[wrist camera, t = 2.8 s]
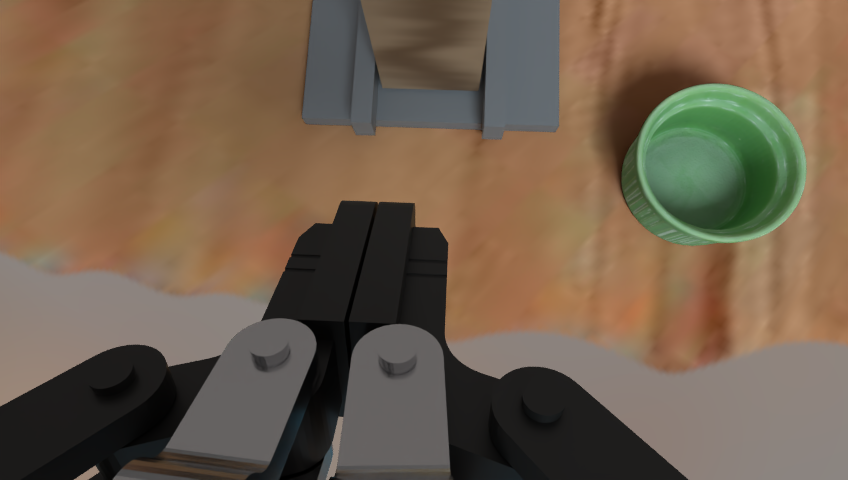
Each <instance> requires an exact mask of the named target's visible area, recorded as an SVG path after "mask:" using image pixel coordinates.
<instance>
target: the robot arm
mask: <svg viewBox="0 0 848 480" xmlns="http://www.w3.org/2000/svg"><path fill="white" fill-rule="evenodd" d="M447 260H448V242H447V241H446V239H445V238H444V236H443V234H442V233H441V231H440V230H439V228H424V227H415V203H396V202H379V204H378V203H377V202H366V201H341V203H340V205H339V208H338V210H337V213H336V216H335V219H334V221H333V224H320V223H315V224H314V225H313V226H312V227H311V228H309V229H308V230H307V231H306V232H305V233H303V234H302V235H301V236H300V237H299V238H298V241H297V243H296V245H295V247H294V249H293V252H292V254H291V257H290V258H289V260H288V263H287V265H286V267H285V272H283V274H282V276H281V278H280V280H279V283H278V285H277V287H276V289H275V292H274V294H273V296H272V298H271V300H270V303H269V305H268V307H267V309H266V312H265V314H264V316H263V318H262V320H261V321H260V322H257V323H255V324H252V325H250V326H248V327H246V328H245V329H243V330H242V331H240V332H239V333H238V334H236V335H235V336H234V337H233V338H232V339H231V341H230V342H229V343H228V345H227V346H226V348H225V350H224V351H223V353H222V355H219V356H217V357H213V358H209V359H204V360H200V361H195V362H190V363H185V364H180V365H175V366H170V367H168V365H167V362H166V360H165V358H164V356H163V355H162V354H161V353H160V352H159V351H158V350H157V349H154V348H152V347H149V346H145V345H126V346H120V347H116V348H113V349H110V350H107V351H104V352H102V353H100V354H98V355H96V356H94V357H92V358H90V359H88V360H86V361H84V362H82V363H81V364H79V365H77V366H75V367H73V368H71V369H69V370H68V371H66V372H64V373H62V374H60V375H58V376H57V377H54V378H53V379H51V380H49V381H47V382H45V383H43V384H42V385H40V386H38V387H36V388H34V389H32V390H30V391H28V392H27V393H25V394H23V395H21V396H19V397H17V398H15V399H13V400H12V401H10V402H8V403H6V404H4V405H2V406H0V480H74V479H75V478H77V477H78V476H80V475H81V474H83V473H84V472H86V471H87V470H89V469H90V468H92V467H93V466H95V465H96V467H97V469H98V470H99V473H98V474H96V475H95V476H93V477H92V478H90V479H89V480H326V477H327V474H328V471H329V468H330V464H331V461H332V456H333V445H332V441H333V438H334V433H335V429H336V425H337V420H338V416H340V417H344V418H343V425H342V433H341V441H340V448H339V456H338V464H337V469H336V473H335V476H334V477H330V479H329V480H688V479H687V478H686V477H685V476H684V475H682V474H681V473H680V472H679V471H678V470H677V469H675V468H674V467H673V466H672V465H671V464H669V463H668V462H667V461H666V460H665V459H664V458H663V457H662V456H660V455H659V454H658V453H657V452H656V451H655V450H654V449H652V448H651V447H650V446H649V445H648V444H647V443H645V442H644V441H643V440H642V439H641V438H640V437H639V436H637V435H636V434H635V433H634V432H633V431H632V430H630V429H629V428H628V427H627V426H626V425H625V424H624V423H622V422H621V421H620V420H619V419H618V418H617V417H615V416H614V415H613V414H612V413H611V412H610V411H609V410H607V409H606V408H605V407H604V406H603V405H601V404H600V403H599V402H598V401H597V400H596V399H595V398H593V397H592V396H591V395H590V394H589V393H588V392H586V391H585V390H584V389H583V388H582V387H581V386H580V385H578V384H577V383H576V382H575V381H573V380H572V379H571V378H569V377H567V376H566V375H564V374H562V373H560V372H557V371H555V370H552V369H548V368H543V367H524V368H520V369H516V370H513V371H511V372H509V373H508V374H506V375H504V376H503V377H502V378H501V379H497V378H494V377H491V376H488V375H485V374H482V373H479V372H477V371H474V370H472V369H470V368H469V367H467V366H465V365H464V364H462V363H461V362H460V361H458V360H457V359H456V358H455V357H454V356H453V354H452V353H451V351H450V350H449V348H448V346H447V344H446V340H445V310H446V285H447Z"/></svg>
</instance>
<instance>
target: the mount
mask: <svg viewBox="0 0 848 480" xmlns="http://www.w3.org/2000/svg"><path fill="white" fill-rule="evenodd" d="M302 119H303V120H304V122H305V123H306V124H320V125H352V127H353V129H354V131H355V133H356V135H375V132H376V126H383V127H414V128H445V129H476V130H482V139H500V140H501V139H502V136H503V132H504V130H507V131H539V132H556V130H557V128H558V127H559V0H492V5H491V11H490V18H489V25H488V32H487V38H486V45H485V52H484V59H483V65H482V72H481V79H480V86H479V91H462V90H427V89H393V88H382V84H381V80H380V76H379V72H378V68H377V64H376V60H375V56H374V52H373V48H372V44H371V40H370V36H369V32H368V28H367V24H366V20H365V16H364V12H363V8H362V4H361V0H313V5H312V15H311V26H310V37H309V48H308V59H307V69H306V80H305V91H304V102H303V112H302Z"/></svg>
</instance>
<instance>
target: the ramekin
mask: <svg viewBox="0 0 848 480" xmlns="http://www.w3.org/2000/svg"><path fill="white" fill-rule="evenodd" d="M805 181H806V158H805V152H804V149H803V146H802V143H801V140H800V138H799V136H798V133H797V131H796V130H795V128H794V126H793V125H792V124H791V123H790V121H789V119H788V118H787V117H786V116H785V115H784V113H782V112H781V111H780V110H779V109H778V108H777V107H776V106H775V105H774V104H773V103H771V102H770V101H768V100H767V99H765V98H764V97H762V96H760V95H758V94H756V93H755V92H752V91H750V90H747V89H744V88H741V87H738V86H734V85H728V84H717V83H713V84H701V85H696V86H692V87H688V88H685V89H683V90H680V91H678V92H676V93H674V94H672V95H671V96H669V97H668V98H666V99H665V100H664V101H662V102H661V103H660V104H659V105H658V106H657V107H656V108H655V109H654V110H653V111H652V112H651V113H650V115H649V116H648V117H647V119H646V120H645V122H644V124H643V126H642V128H641V130H640V132H639V135H638V136H637V138H636V139H635V140H634V142H633V143H632V145H631V146H630V148H629V150H628V152H627V154H626V156H625V159H624V163H623V166H622V182H621V183H622V190H623V194H624V197H625V200H626V202H627V204H628V206H629V209H630V210H631V212H632V213H633V215H634V216H635V217H636V219H637V220H638V221H639V222H640V223H641V224H642V225H643V226H644V227H645V228H646V229H647V230H649V231H650V232H651V233H653V234H654V235H656V236H658V237H660V238H662V239H664V240H667V241H669V242H672V243H676V244H681V245H691V246H694V245H707V244H713V243H734V242H742V241H748V240H752V239H755V238H758V237H761V236H763V235H765V234H767V233H769V232H771V231H772V230H774V229H775V228H777V227H778V226H780V225H781V224H782V223H783V222H784V221H785V220H786V219H787V218H788V217H789V216H790V215H791V213H792V212H793V211H794V209H795V208H796V206H797V205H798V202H799V200H800V198H801V196H802V193H803V190H804V186H805Z"/></svg>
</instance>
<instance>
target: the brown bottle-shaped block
mask: <svg viewBox="0 0 848 480" xmlns="http://www.w3.org/2000/svg"><path fill="white" fill-rule="evenodd" d="M361 4H362V8H363V12H364V16H365V20H366V24H367V28H368V32H369V36H370V40H371V44H372V48H373V52H374V56H375V60H376V64H377V68H378V72H379V76H380V80H381V84H382V88H393V89H427V90H462V91H479V86H480V79H481V72H482V65H483V59H484V52H485V45H486V38H487V32H488V25H489V18H490V11H491V5H492V0H361Z"/></svg>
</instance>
